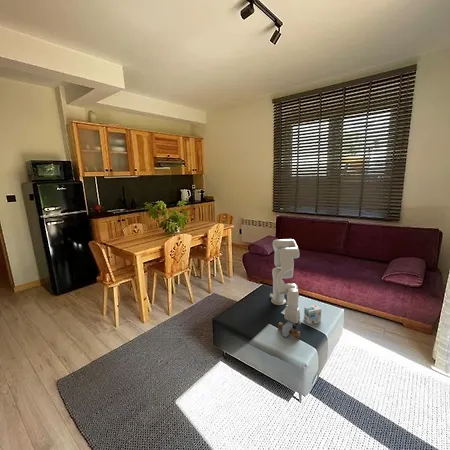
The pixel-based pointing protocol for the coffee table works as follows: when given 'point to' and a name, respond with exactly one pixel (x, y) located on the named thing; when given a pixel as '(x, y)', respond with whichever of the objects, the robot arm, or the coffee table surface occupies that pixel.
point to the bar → (287, 328)
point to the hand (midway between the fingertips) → (291, 328)
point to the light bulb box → (312, 314)
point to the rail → (292, 332)
